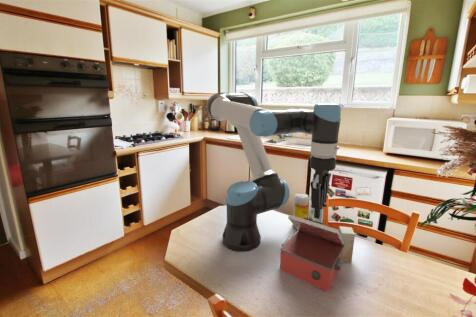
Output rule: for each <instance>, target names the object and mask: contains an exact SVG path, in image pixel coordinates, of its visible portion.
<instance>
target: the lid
mask: <svg viewBox="0 0 476 317" xmlns="http://www.w3.org/2000/svg"><path fill="white" fill-rule="evenodd" d="M287 219H288V220H289V221H290V222H291V224H292V225H293V224H294V226H295V227H296V228H297V229H296V228H295V229H296V230H299V231H302V232H305V233H308V234H311V235H314V236H317V237H320V238H323V239H325V240H328V241H331V242H334V243H337V244H340V245H343V244H344V241H343V239H342V236H341V234H340V232H339V228H338V229H337V228H335V227H330V226H328V225H325V224H324V223H323V222H322V223H320V222H317V221H313V219H309V218H308V217H307V218H304V219H302V218H299V217H296V216H293V214H289V215H288V218H287ZM294 226H293V227H294Z"/></svg>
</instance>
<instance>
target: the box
mask: <svg viewBox="0 0 476 317" xmlns="http://www.w3.org/2000/svg"><path fill="white" fill-rule="evenodd" d="M338 230H339V232H340V234H341V236H342V239H343V241H344V244H343V245H344V249H343V256H342V259H343V263H350V264H351V263H352V260H353V253H354V244H355V238H356V233H355V232H354V229H353V227H351V226H343V225H342V226H341V225H340V226H338Z"/></svg>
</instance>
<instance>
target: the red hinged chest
mask: <svg viewBox="0 0 476 317" xmlns="http://www.w3.org/2000/svg"><path fill="white" fill-rule="evenodd" d="M343 249H344V245H340V244H337V243H334V242H331V241H328V240H325V239H323V238H320V237H317V236H314V235H311V234H308V233H305V232H302V231H299V230H298V229H296V232H294V233H293V234H292V235H291V236H290V238H286V239H285V240H284V241H283V243H281V247H279V251H280V256H279V257H280V259H279V270H280V271H281V272H284V273H285V274H288V275H290V276H292V277H294V278H297V279H299V280H301V281H304V282H305V283H307V284H309V285H312V286H315V287H317V288H319V289H321V290H323V291H325V292H328V293H329V292H330V290H331V288H332V286H333V283H334V281H335V280H336V278H337V276H338V274H339V272H341V271H340V270H341V269H342V267H343V264H344V262H343V259H342V256H343Z"/></svg>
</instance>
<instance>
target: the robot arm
mask: <svg viewBox="0 0 476 317" xmlns="http://www.w3.org/2000/svg"><path fill="white" fill-rule="evenodd" d="M205 108H206V110H205V111H206V112H207V114H208V116H209V117H210V118H211V119H213V120H216V121H219V122H222V121H226V122H229V123H230V124H231V126H232V127H234V128H236V130H237V134H238V136H239V140H240V143H241V145H242V148H243V151H244V154H245V157H246V161H247V164H248V166H249V169H250V173H251V175H252V179H251V181H250V180H246V181H244V180H241V181H236V182H234V183H232V184H230V185H229V187H228V188H227V190H226V197H225V202H226V225H225V227H224V230H223V232H222V237H221V238H222V244H223V246H224V247H225V248H226V249H228V250H230V251H234V252H235V253H245V252H251V251H254V250H255V249H258V247H259V246H260V245H261V242H262V241H261V237H262V236H261V233H260V231H259V226H258V223H257V217H258V215H259V214H263V213H266V212H270V211H274V210H277V209H280V208H282V207H284V206H286V205H287V203H288V201H289V199H290V192H291V191H290V186H289V184H288V183H287V181H286V180H284V179H283V178H281V177H279V175H278V173H277V172H276V171H274V170H273V169H272V166H271V163H270V160H269V158H268V154H267V152H266V148H265V147H264V143H263V141H262V138H261V137H270V136H280V135H288V134H289V135H290V134H298V133H302V134H308V135H311V143H310V157H309V158H310V159H309V168H311V169H313V170H314V174H313V177H312V180H313V181H310V184H309V185H310V192H311V194H310V195H311V197H310V198H311V199H310V200H311V204H310V207H311V208H312V209H313V214H312V220H313V221H317V222H320V223H323V220H324V208H327V206H328V205H327V204H326V203H327V199H328V193H329V186H330V181H331V176H332V173H331V172H332V171H333V170H335V169H336V167H337V166H336V165H337V157H336V156H337V154H338V150H339V149H340V146H338V144H339V143H338V142H339V134H340V133H339V132H340V126H341V119H342V118H341V116H342V115H341V112H342V107H341V105H340V104H338V103H315V104H314V106H313V109H305V108H299V107H297V108H288V109H268V108H264V107H259V105H258V100H257V98H256V97H255V96H254V95H253V94H251V93H248V92H244V91H240V92H217V93H214V94H213V95H211V96H210V97H209V98H208V99H207V100H206V104H205ZM330 171H331V172H330Z"/></svg>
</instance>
